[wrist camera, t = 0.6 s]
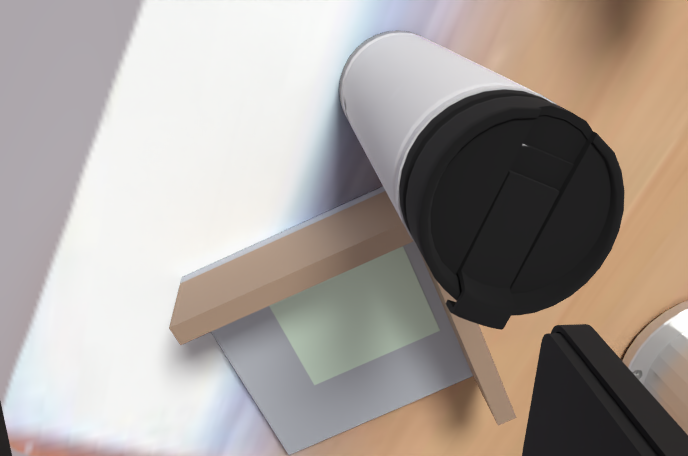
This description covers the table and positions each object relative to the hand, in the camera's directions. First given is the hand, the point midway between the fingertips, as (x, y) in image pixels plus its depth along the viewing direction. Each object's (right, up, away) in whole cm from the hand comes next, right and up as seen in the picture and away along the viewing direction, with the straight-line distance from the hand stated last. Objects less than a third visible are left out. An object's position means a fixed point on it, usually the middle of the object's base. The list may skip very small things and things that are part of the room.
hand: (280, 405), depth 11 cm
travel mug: (+4, +11, +25) cm, 28 cm away
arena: (+1, -3, +30) cm, 31 cm away
